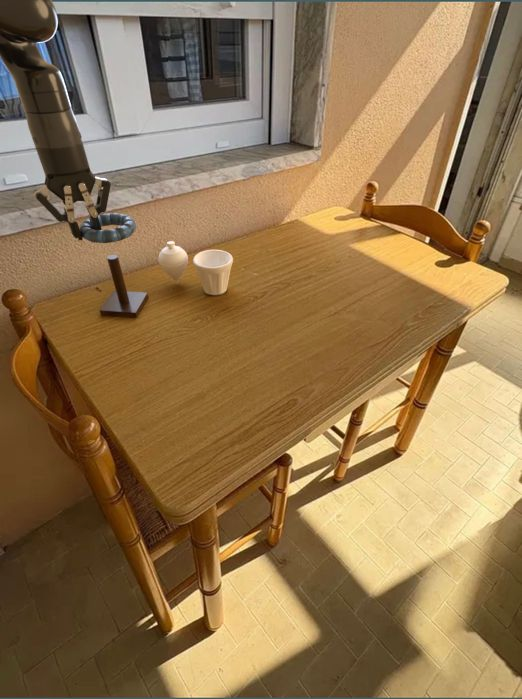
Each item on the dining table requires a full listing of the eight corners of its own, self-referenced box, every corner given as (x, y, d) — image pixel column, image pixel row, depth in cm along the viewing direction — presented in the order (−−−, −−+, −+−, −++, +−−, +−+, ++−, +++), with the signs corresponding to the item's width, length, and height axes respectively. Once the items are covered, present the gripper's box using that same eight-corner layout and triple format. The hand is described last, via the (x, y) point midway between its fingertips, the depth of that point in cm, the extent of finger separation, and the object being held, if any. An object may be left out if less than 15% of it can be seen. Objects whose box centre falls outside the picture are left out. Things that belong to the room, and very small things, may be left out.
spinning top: (182, 273, 108) (176, 233, 100) (196, 284, 103) (191, 243, 96) (157, 282, 104) (149, 241, 96) (171, 294, 100) (164, 252, 92)
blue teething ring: (71, 243, 74) (67, 231, 73) (96, 221, 82) (93, 209, 81) (124, 246, 73) (121, 235, 72) (144, 224, 81) (142, 213, 80)
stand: (100, 315, 92) (84, 265, 84) (115, 295, 99) (101, 247, 90) (136, 317, 92) (124, 267, 83) (148, 297, 99) (138, 249, 90)
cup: (190, 296, 99) (186, 264, 93) (205, 277, 106) (202, 247, 100) (226, 303, 97) (224, 270, 91) (239, 283, 104) (238, 252, 98)
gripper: (93, 130, 70) (116, 222, 81) (8, 141, 64) (46, 238, 75) (106, 139, 65) (129, 234, 77) (16, 151, 59) (56, 253, 71)
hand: (88, 236), depth 76 cm, fingers closed on blue teething ring, 2 cm apart
